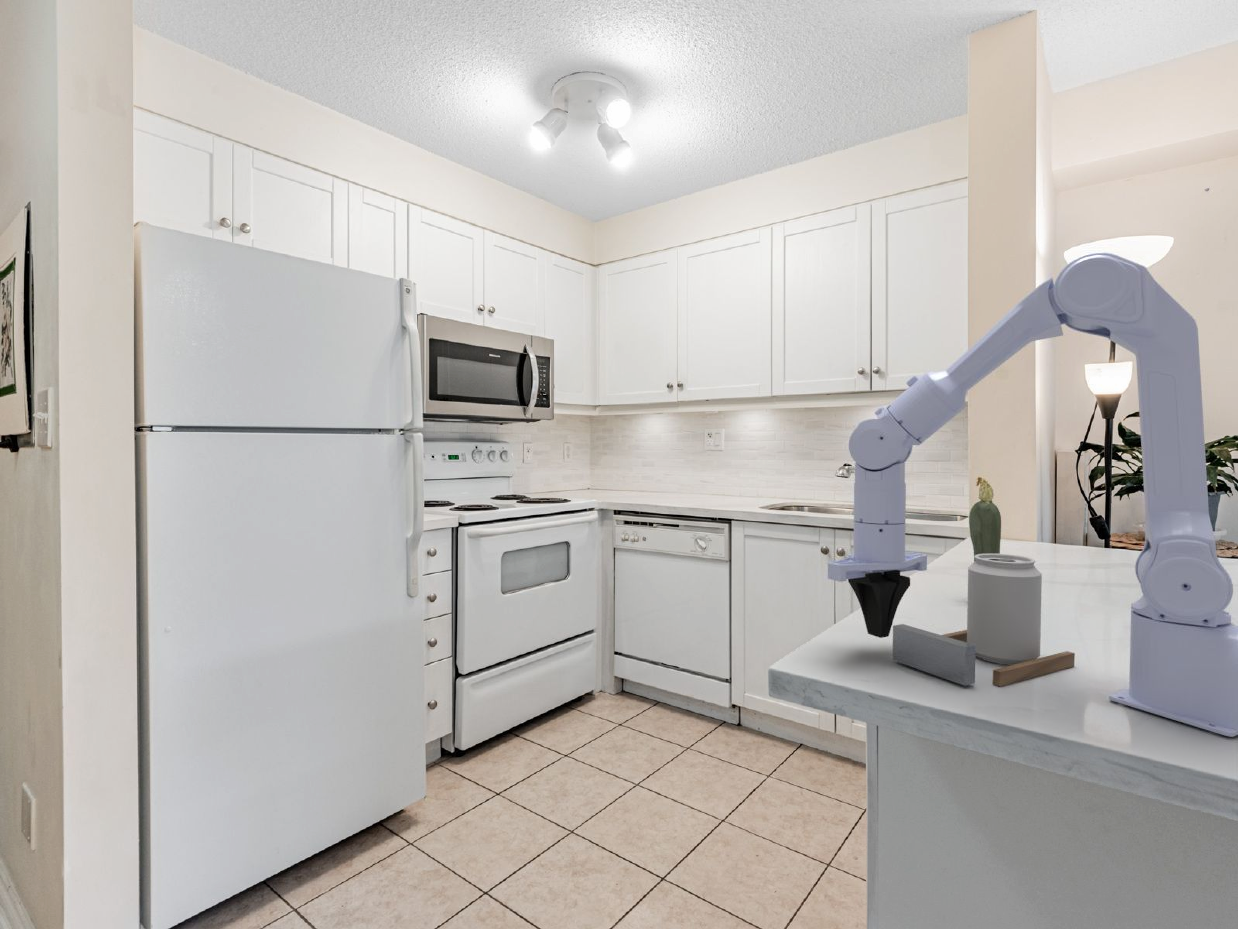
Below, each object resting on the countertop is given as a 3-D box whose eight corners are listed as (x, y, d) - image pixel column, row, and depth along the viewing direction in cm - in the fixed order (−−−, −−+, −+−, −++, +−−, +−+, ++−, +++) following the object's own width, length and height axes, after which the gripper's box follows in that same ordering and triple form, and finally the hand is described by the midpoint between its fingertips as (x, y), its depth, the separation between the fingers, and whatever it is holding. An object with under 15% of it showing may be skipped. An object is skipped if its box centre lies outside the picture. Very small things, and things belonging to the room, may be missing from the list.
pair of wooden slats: (1074, 666, 74) (1074, 653, 74) (1000, 686, 68) (1000, 672, 68) (977, 639, 85) (977, 627, 85) (905, 654, 78) (905, 642, 78)
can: (1027, 650, 80) (1029, 552, 80) (1050, 670, 73) (1052, 563, 73) (960, 645, 82) (961, 549, 82) (975, 664, 75) (977, 560, 75)
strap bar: (974, 683, 68) (975, 645, 68) (964, 685, 67) (965, 647, 67) (902, 658, 76) (902, 624, 76) (892, 660, 75) (893, 625, 75)
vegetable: (1005, 608, 100) (1007, 477, 100) (976, 607, 101) (979, 477, 100) (989, 601, 105) (991, 476, 104) (962, 601, 105) (964, 476, 104)
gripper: (893, 515, 85) (892, 619, 85) (809, 521, 78) (808, 634, 79) (942, 521, 78) (941, 633, 79) (855, 528, 72) (853, 651, 72)
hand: (878, 635), depth 78 cm, fingers closed
